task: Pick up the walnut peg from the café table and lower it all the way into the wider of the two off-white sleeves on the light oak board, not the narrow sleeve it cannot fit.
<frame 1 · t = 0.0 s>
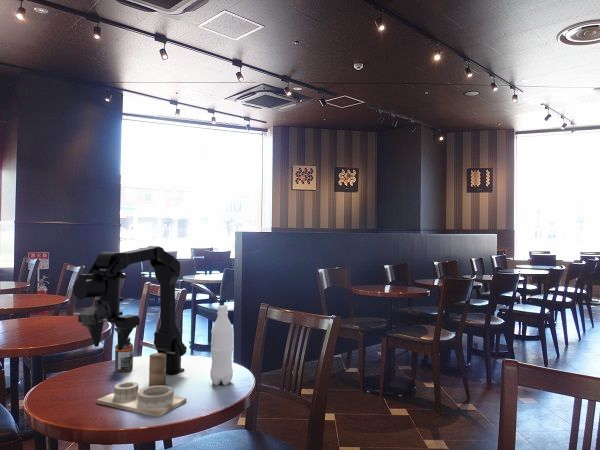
hand: (108, 348, 131), 15 cm above the table, tool pointing down, fingers open, 9 cm apart
walnut peg: (157, 386, 142), on the table
supplement bottle: (123, 370, 158), on the table
water bottle: (221, 383, 146), on the table
sleeve board: (142, 402, 129), on the table
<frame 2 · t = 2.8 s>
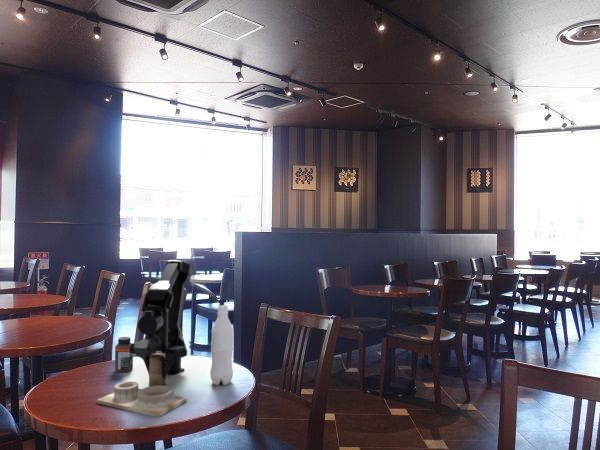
hand: (157, 377, 142), 3 cm above the table, tool pointing down, fingers closed on walnut peg, 5 cm apart
walnut peg: (157, 386, 142), on the table, touching gripper
everything else where it was.
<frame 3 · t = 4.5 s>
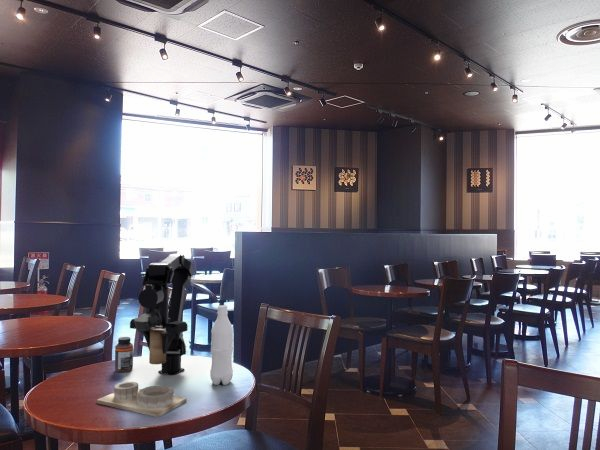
hand: (157, 352, 142), 11 cm above the table, tool pointing down, fingers closed on walnut peg, 5 cm apart
walnut peg: (157, 362, 142), point 8 cm above the table, touching gripper
everything else where it was.
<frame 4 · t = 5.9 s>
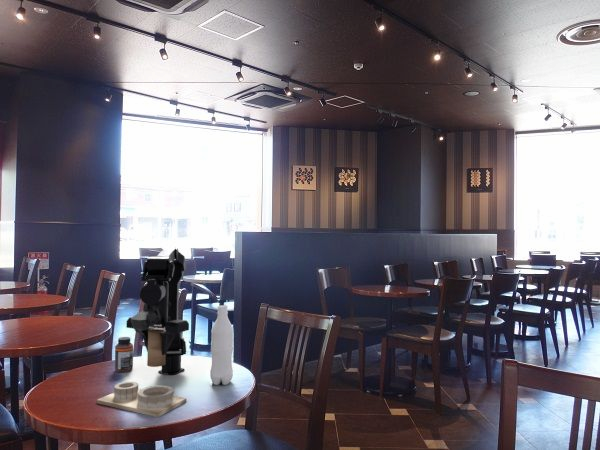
hand: (156, 354, 130), 14 cm above the table, tool pointing down, fingers closed on walnut peg, 5 cm apart
walnut peg: (156, 364, 130), point 11 cm above the table, touching gripper
everything else where it was.
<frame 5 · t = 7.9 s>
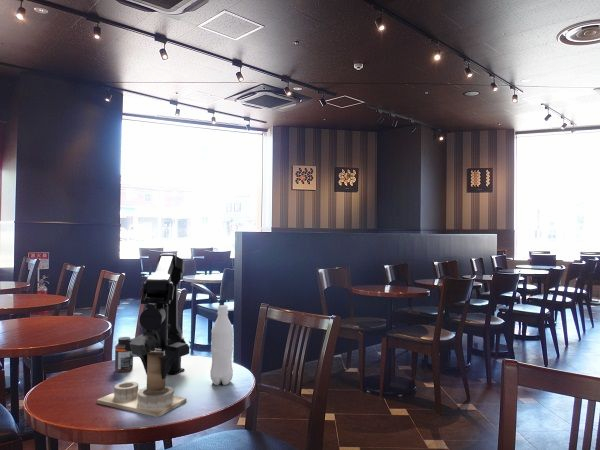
hand: (156, 377, 127), 8 cm above the table, tool pointing down, fingers closed on walnut peg, 5 cm apart
walnut peg: (156, 388, 127), point 5 cm above the table, touching gripper
everything else where it was.
when the fingers open (5 cm above the table, at t = 9.4 s): walnut peg stays where it is, resting on sleeve board.
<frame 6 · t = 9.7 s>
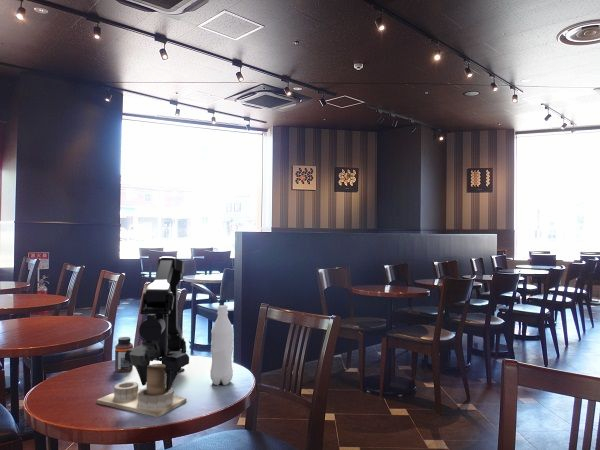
hand: (156, 387, 127), 5 cm above the table, tool pointing down, fingers open, 8 cm apart
walnut peg: (155, 401, 127), point 1 cm above the table, touching sleeve board
everything else where it was.
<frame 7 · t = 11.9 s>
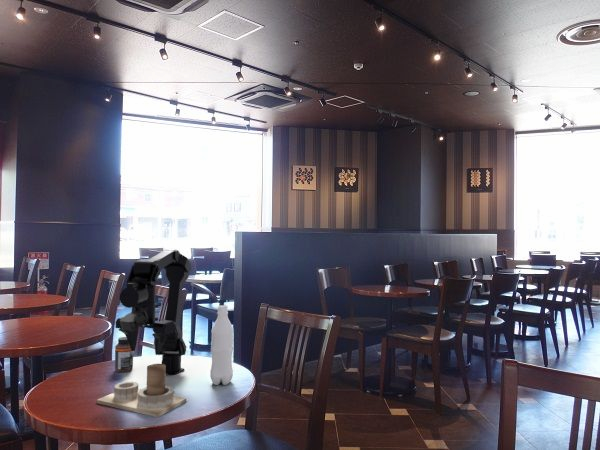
hand: (145, 352, 137), 12 cm above the table, tool pointing down, fingers open, 9 cm apart
nothing on the table moved.
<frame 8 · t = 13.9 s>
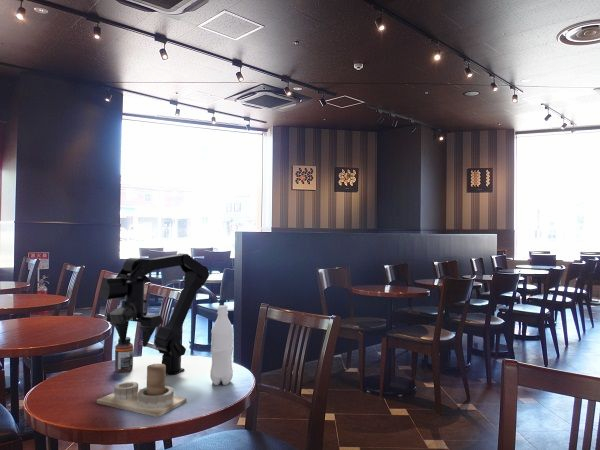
hand: (133, 345, 146), 12 cm above the table, tool pointing down, fingers open, 9 cm apart
nothing on the table moved.
at the end: walnut peg 0.0 cm from the target spot on the sleeve board, point 1.0 cm above the sleeve board's base; walnut peg tilted 0°; the gripper is holding nothing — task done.
